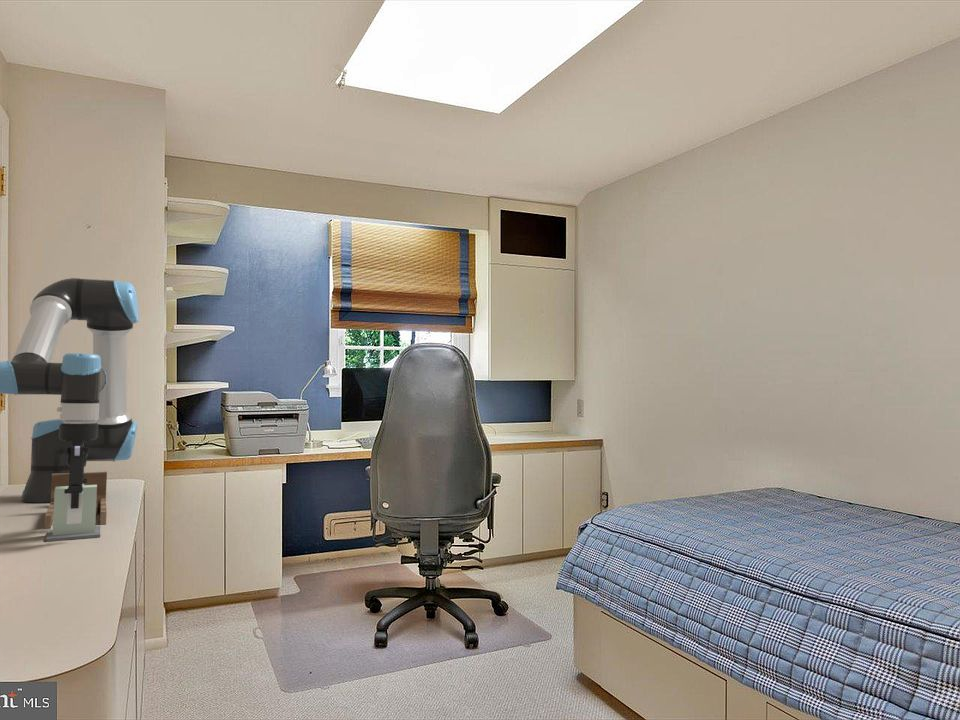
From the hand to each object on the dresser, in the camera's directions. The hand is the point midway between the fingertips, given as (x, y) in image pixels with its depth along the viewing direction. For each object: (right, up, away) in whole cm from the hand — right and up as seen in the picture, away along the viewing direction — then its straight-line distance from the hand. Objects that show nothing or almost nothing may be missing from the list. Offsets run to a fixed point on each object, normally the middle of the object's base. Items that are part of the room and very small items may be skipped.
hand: (75, 518), depth 149 cm
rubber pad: (0, -4, 0) cm, 4 cm away
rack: (-10, -4, +18) cm, 21 cm away
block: (0, -3, 0) cm, 3 cm away
